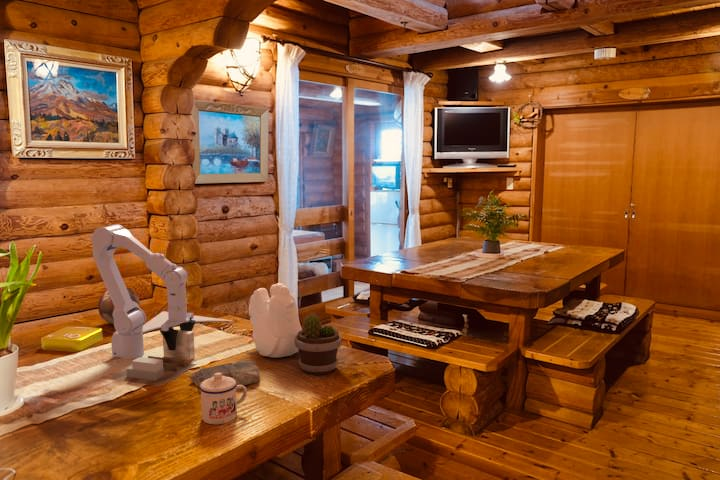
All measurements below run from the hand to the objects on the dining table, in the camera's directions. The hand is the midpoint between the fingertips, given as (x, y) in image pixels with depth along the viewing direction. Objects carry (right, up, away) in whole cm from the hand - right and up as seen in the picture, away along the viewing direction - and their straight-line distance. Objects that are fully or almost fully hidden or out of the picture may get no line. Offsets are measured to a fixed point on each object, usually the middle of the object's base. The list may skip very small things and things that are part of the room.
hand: (179, 346), depth 184 cm
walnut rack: (-4, -6, -12) cm, 14 cm away
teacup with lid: (+24, -11, -39) cm, 47 cm away
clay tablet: (+19, -8, -16) cm, 26 cm away
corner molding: (-10, -1, +32) cm, 34 cm away
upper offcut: (-4, -4, -16) cm, 17 cm away
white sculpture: (+30, -4, +9) cm, 31 cm away
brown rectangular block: (0, -4, +1) cm, 4 cm away
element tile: (-43, -3, +17) cm, 46 cm away
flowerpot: (+46, -6, -7) cm, 47 cm away
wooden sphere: (-36, +1, +40) cm, 54 cm away
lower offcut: (-5, -6, -16) cm, 17 cm away
